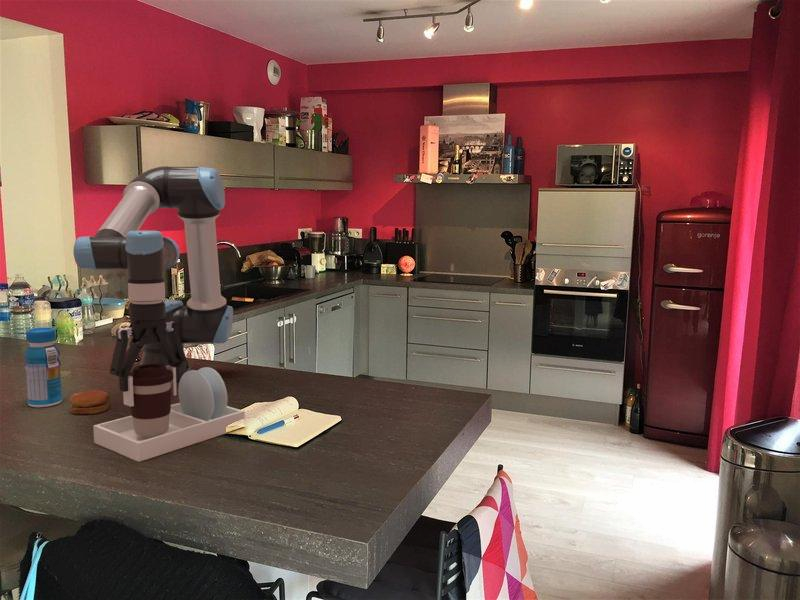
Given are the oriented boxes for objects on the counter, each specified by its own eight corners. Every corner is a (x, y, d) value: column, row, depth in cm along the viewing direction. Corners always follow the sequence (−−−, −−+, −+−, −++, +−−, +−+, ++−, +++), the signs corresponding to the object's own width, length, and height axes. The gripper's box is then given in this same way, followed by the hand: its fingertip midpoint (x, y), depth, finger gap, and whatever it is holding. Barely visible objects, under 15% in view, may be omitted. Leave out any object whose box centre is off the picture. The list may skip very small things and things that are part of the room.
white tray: (199, 412, 168) (199, 397, 168) (244, 427, 158) (244, 411, 157) (94, 442, 146) (93, 425, 146) (138, 461, 136) (138, 443, 135)
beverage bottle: (26, 409, 168) (21, 333, 165) (27, 401, 176) (22, 327, 173) (63, 405, 172) (58, 331, 169) (62, 397, 180) (58, 325, 177)
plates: (194, 413, 164) (193, 363, 163) (228, 424, 157) (226, 371, 155) (179, 418, 161) (177, 366, 159) (212, 429, 153) (211, 375, 151)
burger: (107, 414, 167) (106, 396, 166) (67, 417, 164) (66, 399, 163) (111, 403, 176) (110, 386, 175) (73, 406, 173) (72, 388, 172)
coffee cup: (184, 428, 150) (182, 364, 148) (151, 442, 141) (149, 374, 139) (152, 421, 154) (149, 359, 152) (118, 434, 145) (115, 369, 143)
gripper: (181, 294, 155) (184, 385, 158) (87, 305, 137) (93, 408, 140) (200, 297, 150) (203, 391, 153) (107, 309, 132) (112, 415, 135)
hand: (150, 399), depth 147 cm, fingers open, 10 cm apart
